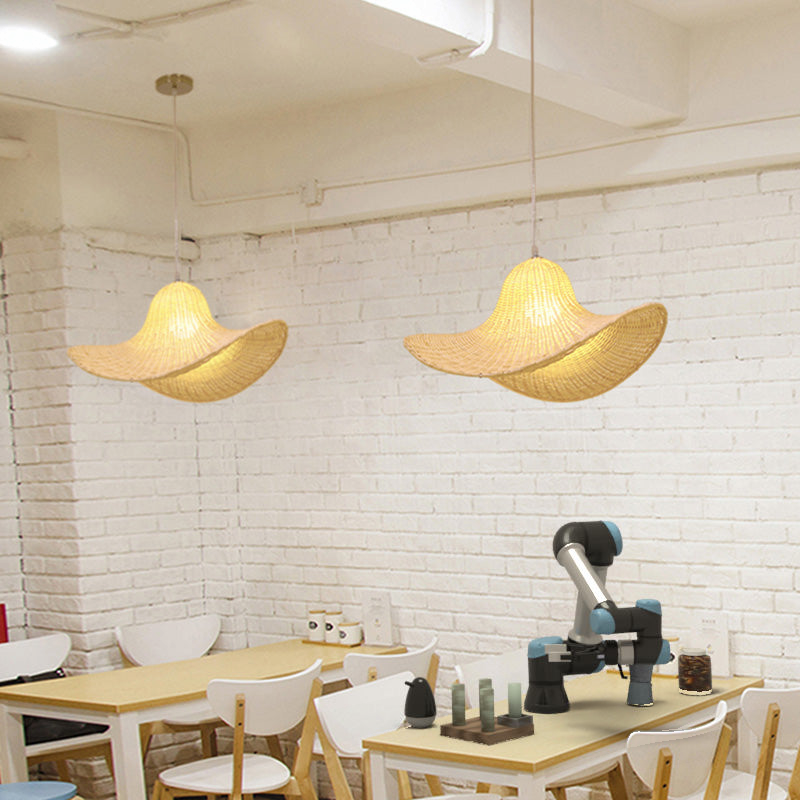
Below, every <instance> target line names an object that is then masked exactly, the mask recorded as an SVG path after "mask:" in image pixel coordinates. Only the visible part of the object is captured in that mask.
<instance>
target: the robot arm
mask: <svg viewBox="0 0 800 800" xmlns="http://www.w3.org/2000/svg"><path fill="white" fill-rule="evenodd" d="M623 543H624V542H623V536H622V532H621V531H620V529H619V526H617V525H616V523H615V522H613V521H610V520H596V521H595V520H591V521H589V520H588V521H570V522H567V523H565V524H563V525H562V526H560V528H558V530H557V531H556V532H555V534H554V536H553V540H552V552H553V556H554V558H555V560H556V562H557V563H558V565H559V566H561V567H563V568H564V569H565V570H566V572H567V574H568V576H569V578H570V579H571V581H572V582H573V584H574V586H575V587H576V589H577V598H576V606H575V613H574V621H573V628H572V629H570V630H569V631H568V633H567V638H566V639H563V638H562V637H561V636H560V635H559V636H557V635H551V636H542V637H537V638H534V639H532V640H531V641H530V642H529V643H528V645H527V653H526V654H527V655H526V656H527V668H528V671H527V672H528V688H527V691H526V694H525V698H524V702H523V709H524V710H525V709H526V710H528V711H527V712H530V711H533V712H532V713H536V712H541V713H540V714H555V713H554V712H559V713H564V712H563V711H565V712H568V711H570V710H571V709H570V708H571V705H570V700H569V696H568V694H567V690H566V688H565V685H564V682H565V681H564V680H565V679H564V676H567V677H568V676H578V675H588V676H589V675H592V674H596V673H600V672H601V671H603V670H604V668H605V667H606V666H618V665H617V664H618V663H619V664H620V665H621V666H625V667H626V668H629V664H630V665H654V666H660V665H666V664H669V663H670V661H671V645H670V641H669V640H668V639H666V638H664V637H663V633H662V631H663V630H662V629H663V627H662V626H663V622H662V621H663V620H662V618H663V617H662V616H663V613H662V612H663V611H662V604H661V601H659V600H657V599H652V598H641V599H637V600H636V601H635V605H634V606H628V607H618V606H617V603H615V601H614V599H613V598H612V597H611V594H610V593H609V592H608V590H607V588H606V584H607V583H606V582H607V575H608V570H609V569H608V568H610V567H611V566H613V564H614V558H615V557H618V556H620V555H621V554H622V552H623V548H624V546H623V545H624V544H623ZM630 633H632V634H633V633H635V634H636V639H632V638H631V639H625V638H624V639H618V640H616V639H604V638H603V635H606V636H608V635H618V634H630ZM526 710H525V711H526ZM567 710H568V711H567Z"/></svg>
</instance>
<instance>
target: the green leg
mask: <svg viewBox="0 0 800 800" xmlns="http://www.w3.org/2000/svg"><path fill="white" fill-rule="evenodd" d="M507 703H508V707H507V708H508V709H507V710H508V714H509V717H510V718H515V719H516V718H520V717H522V714H523V712H522V711H523V709H522V708H523V707H522V705H523V703H522V683H520V682H509V683H507Z"/></svg>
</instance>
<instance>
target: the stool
mask: <svg viewBox="0 0 800 800" xmlns="http://www.w3.org/2000/svg"><path fill="white" fill-rule="evenodd" d="M492 682H493V681H492V678H487V677H486V678H479V679H478V699H479V700H478V702H479V705H478V707H479V716H475V717H471V718H467V719H466V692H465V691H466V690H465V683H452V684H451V688H450V689H451V717H452V719H451V722H448V723H444V724H441V725H439V728H440V731H439V732H440V734H439V735H440V736H442V735H444V736H443V737H446V736H449V737H448V738H451V737H455V738H454V739H456V738H459V739H458V740H461V739H464V740H463V741H466V740H468V741H467V742H470V741H473V742H472V743H475V742H478V743H477V744H480V743H483V744H482V745H485V744H487V745H486V746H491V745H490V744H492V745H495V744H494V743H496V744H499V743H498V742H501V743H503V742H502V741H505V742H507V741H506V740H509V741H511V740H510V739H513V740H515V739H514V738H517V739H519V738H518V737H521V738H523V737H522V736H525V737H527V736H526V735H529V736H531V735H530V734H533V735H535V724H534V715H531V714H526V713H522V717H520V718H516V719H515V718H510V717H509V713H505V714H500V715H497V716H495V692H494V691H495V690H494V688H493V683H492Z"/></svg>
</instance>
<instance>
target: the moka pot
mask: <svg viewBox="0 0 800 800" xmlns="http://www.w3.org/2000/svg"><path fill="white" fill-rule="evenodd" d="M616 666H617V668H618V671H619V675H620V678H621V679H623V680H628V679H629V685H628V689H627V691H628V692H627V695H626V696H627V697H626V704H627V703H629V704H628V705H630V704H638V705H644V704H650V703H653V704H654V696H653V689H652V688H653V683H652V677H653V673H654V672H653V670H654V666H655V665H630V664H629V667H628V670H629V672H628V673H629V676H627V675H625V674H624V672H623V667H622V666H623V665H620V664H619V663H618V664H617V665H616Z"/></svg>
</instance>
